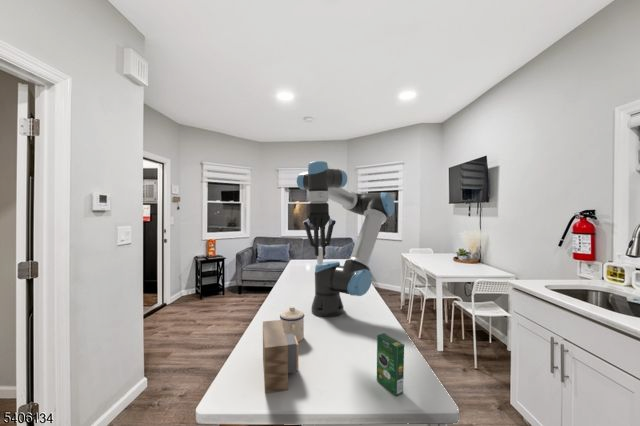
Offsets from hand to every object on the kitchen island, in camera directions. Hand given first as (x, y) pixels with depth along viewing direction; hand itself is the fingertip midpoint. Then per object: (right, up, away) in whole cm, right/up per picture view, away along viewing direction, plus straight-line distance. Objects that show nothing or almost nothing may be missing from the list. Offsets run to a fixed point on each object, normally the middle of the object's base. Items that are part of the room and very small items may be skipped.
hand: (320, 264), depth 110 cm
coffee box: (+19, -28, -33) cm, 47 cm away
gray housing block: (-11, -26, -25) cm, 38 cm away
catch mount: (-14, -27, -26) cm, 40 cm away
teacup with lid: (-10, -27, -4) cm, 30 cm away
